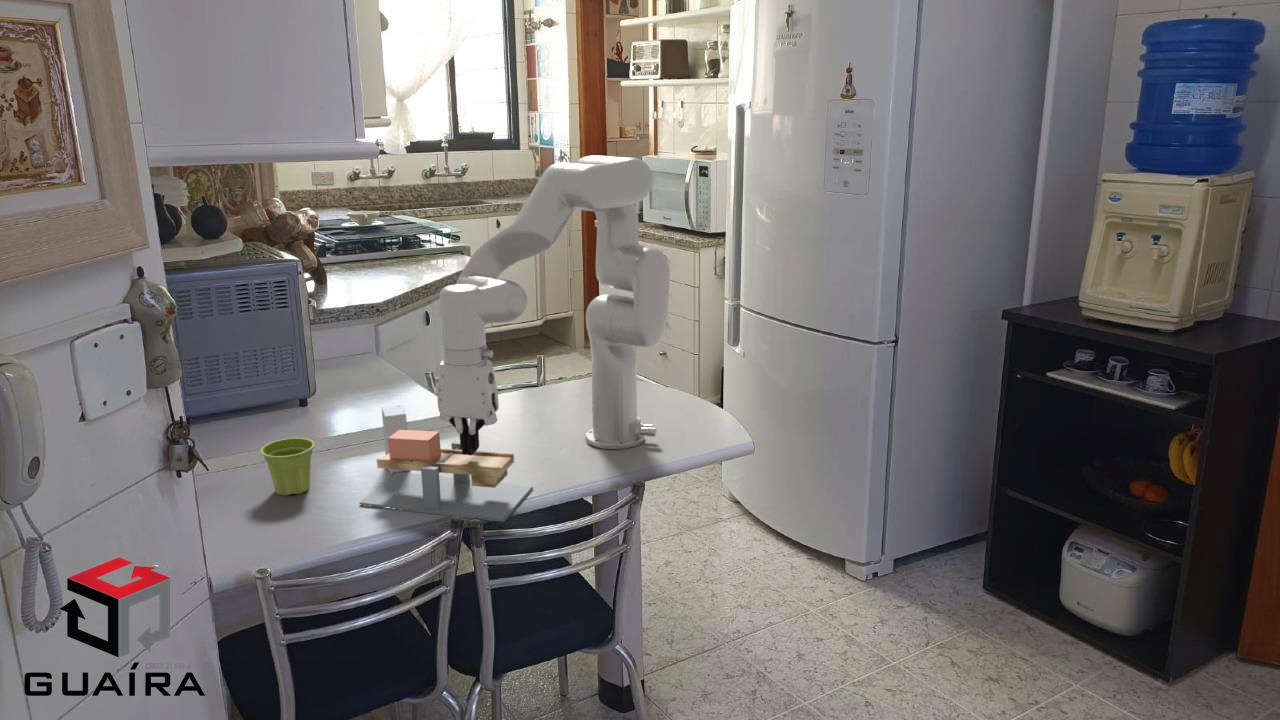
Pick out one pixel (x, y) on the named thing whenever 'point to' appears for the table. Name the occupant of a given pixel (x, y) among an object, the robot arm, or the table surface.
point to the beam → (461, 465)
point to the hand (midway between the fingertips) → (470, 452)
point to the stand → (447, 495)
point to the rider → (414, 445)
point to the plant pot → (289, 464)
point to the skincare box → (393, 425)
